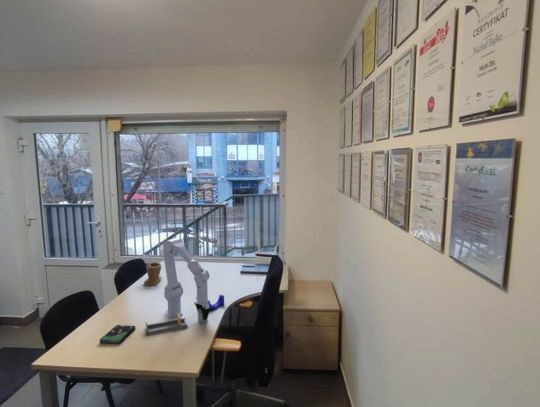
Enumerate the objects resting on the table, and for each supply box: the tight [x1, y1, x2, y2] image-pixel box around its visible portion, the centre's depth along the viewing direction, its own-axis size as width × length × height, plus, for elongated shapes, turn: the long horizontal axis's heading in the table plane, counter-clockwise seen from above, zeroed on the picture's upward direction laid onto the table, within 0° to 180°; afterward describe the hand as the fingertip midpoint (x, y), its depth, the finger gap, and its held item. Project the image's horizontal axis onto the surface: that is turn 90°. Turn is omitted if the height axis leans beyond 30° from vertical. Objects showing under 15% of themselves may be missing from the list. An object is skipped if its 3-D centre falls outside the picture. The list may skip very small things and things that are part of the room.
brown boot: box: [143, 261, 163, 286], centre depth 234 cm, size 15×12×15 cm
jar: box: [197, 307, 208, 325], centre depth 173 cm, size 5×5×7 cm
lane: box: [144, 317, 189, 337], centre depth 166 cm, size 8×21×3 cm, turn 114°
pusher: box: [176, 313, 182, 325], centre depth 168 cm, size 6×1×5 cm, turn 24°
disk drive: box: [99, 324, 136, 346], centre depth 157 cm, size 10×3×15 cm
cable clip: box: [208, 294, 225, 313], centre depth 191 cm, size 12×4×6 cm, turn 135°
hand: (202, 316), depth 173 cm, fingers open, 7 cm apart
